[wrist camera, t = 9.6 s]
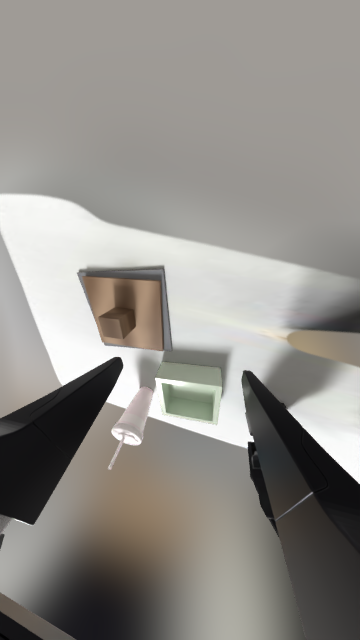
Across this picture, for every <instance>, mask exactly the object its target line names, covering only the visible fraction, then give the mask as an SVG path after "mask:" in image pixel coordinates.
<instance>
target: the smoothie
mask: <svg viewBox="0 0 360 640" xmlns="http://www.w3.org/2000/svg"><path fill="white" fill-rule="evenodd" d="M152 396H153V391H152V390H151V389H150V388H148V387H141V388H140V389H139V391H138V392H137V394H136V395H135V397H134V398H133V400H132V401H131V403H130V404H129V406H128V407H127V409H126V410H125V412H124V413H123V415H122V416H121V418H120V419H119V421H118V422H117V423H116V424H114V427H113V429H112V434H113V435H114V437H116V438H117V439H118V440H120V444H119V446H118V448H117V450H116V452H115V454H114V456H113V458H112V460H111V463H110V465H109V467H108V469H109V470H110V469H111V468H112V466H113V464H114V461H115V459H116V457H117V455H118V453H119V450H120V448H121V446H122V444H123V442H124V443H126V444H130V445H139V444H140V443H141V441H142V439H143V430H144V427H145V423H146V419H147V415H148V412H149V408H150V404H151V400H152Z"/></svg>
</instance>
